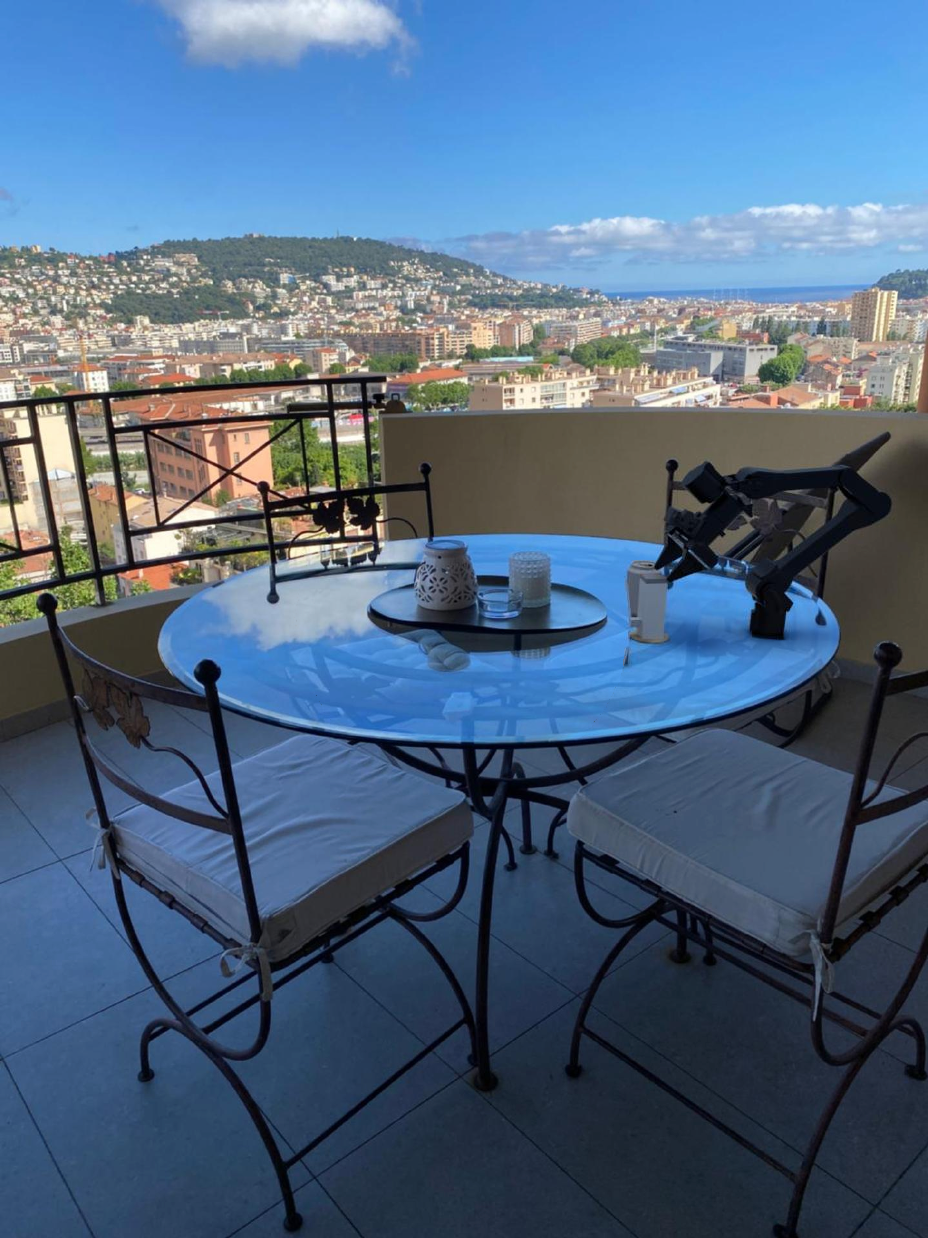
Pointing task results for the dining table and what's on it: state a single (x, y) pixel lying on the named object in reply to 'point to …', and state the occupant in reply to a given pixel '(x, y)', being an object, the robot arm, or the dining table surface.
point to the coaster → (638, 638)
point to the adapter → (651, 606)
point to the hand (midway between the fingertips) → (661, 574)
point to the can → (637, 580)
